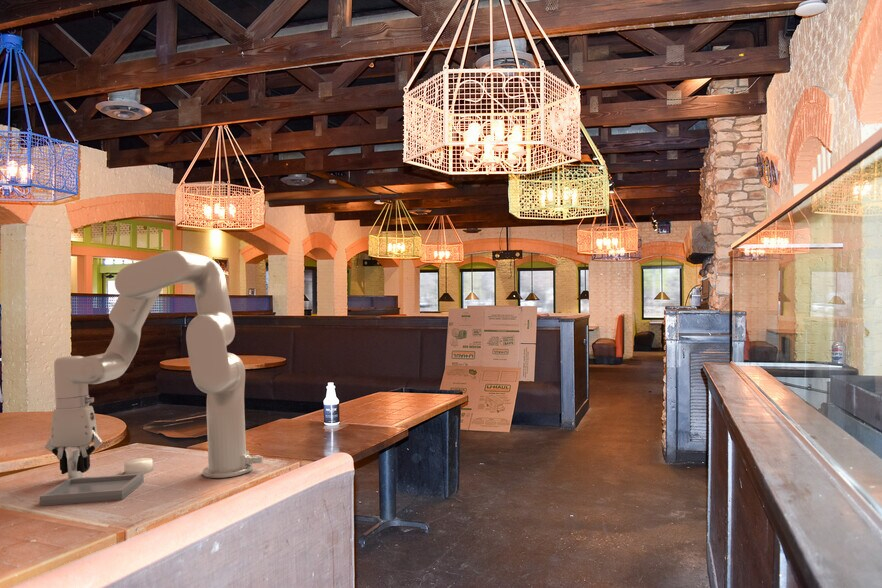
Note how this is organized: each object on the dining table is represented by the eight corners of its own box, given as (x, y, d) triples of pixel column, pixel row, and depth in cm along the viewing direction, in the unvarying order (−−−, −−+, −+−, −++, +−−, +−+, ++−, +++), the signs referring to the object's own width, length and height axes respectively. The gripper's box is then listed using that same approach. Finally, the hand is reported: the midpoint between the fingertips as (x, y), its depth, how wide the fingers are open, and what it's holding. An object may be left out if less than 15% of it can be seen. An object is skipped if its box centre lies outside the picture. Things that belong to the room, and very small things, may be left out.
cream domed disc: (156, 467, 172) (156, 457, 172) (147, 474, 165) (147, 463, 165) (130, 469, 172) (129, 458, 172) (120, 476, 165) (119, 465, 165)
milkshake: (78, 481, 161) (77, 443, 161) (60, 480, 162) (60, 442, 162) (91, 476, 165) (91, 439, 165) (74, 475, 166) (73, 438, 167)
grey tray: (143, 481, 158) (143, 473, 158) (122, 499, 144) (122, 490, 144) (68, 487, 156) (68, 478, 156) (39, 505, 142) (39, 496, 142)
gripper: (111, 398, 168) (114, 465, 168) (45, 402, 166) (48, 470, 166) (99, 403, 161) (102, 473, 161) (30, 407, 159) (33, 478, 159)
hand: (75, 471), depth 164 cm, fingers closed on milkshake, 4 cm apart
